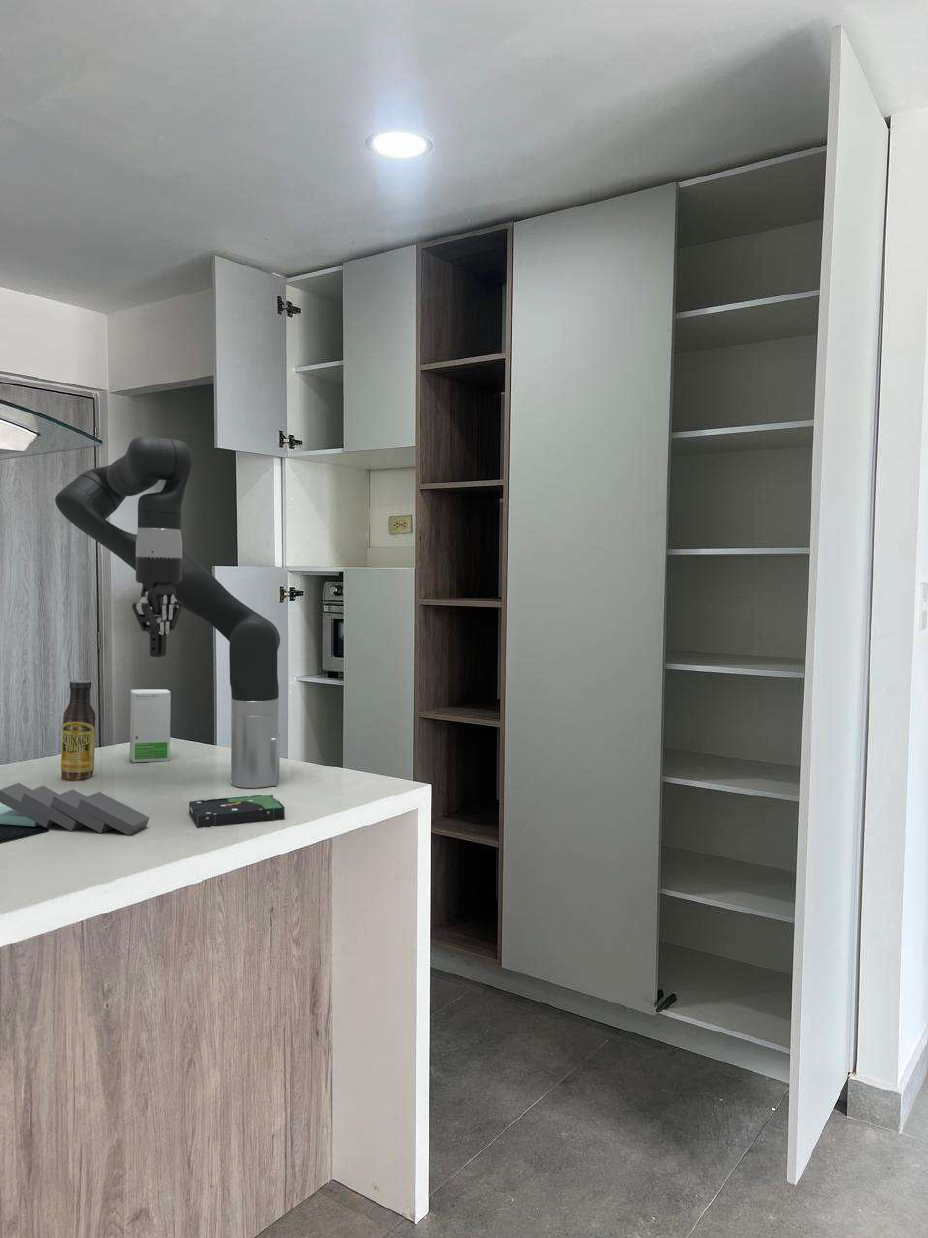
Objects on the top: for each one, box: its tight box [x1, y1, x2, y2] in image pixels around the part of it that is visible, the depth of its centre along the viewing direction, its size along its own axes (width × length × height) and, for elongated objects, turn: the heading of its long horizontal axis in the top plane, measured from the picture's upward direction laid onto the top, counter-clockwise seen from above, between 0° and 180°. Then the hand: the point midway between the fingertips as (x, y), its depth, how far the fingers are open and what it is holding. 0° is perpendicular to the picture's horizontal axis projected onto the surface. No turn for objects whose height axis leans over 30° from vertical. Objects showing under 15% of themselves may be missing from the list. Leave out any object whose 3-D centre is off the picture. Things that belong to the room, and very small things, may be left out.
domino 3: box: [21, 785, 85, 832], centre depth 151 cm, size 2×5×10 cm
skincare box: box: [129, 688, 172, 764], centre depth 204 cm, size 8×7×16 cm
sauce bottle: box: [60, 679, 96, 781], centre depth 185 cm, size 7×6×20 cm
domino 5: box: [78, 791, 150, 836], centre depth 150 cm, size 2×5×10 cm
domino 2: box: [0, 805, 41, 827], centre depth 154 cm, size 2×5×10 cm
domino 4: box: [51, 789, 113, 834], centre depth 151 cm, size 2×5×10 cm
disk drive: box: [188, 794, 286, 829], centre depth 159 cm, size 10×3×15 cm
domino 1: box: [0, 782, 57, 828], centre depth 152 cm, size 2×5×10 cm
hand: (158, 656), depth 157 cm, fingers closed
